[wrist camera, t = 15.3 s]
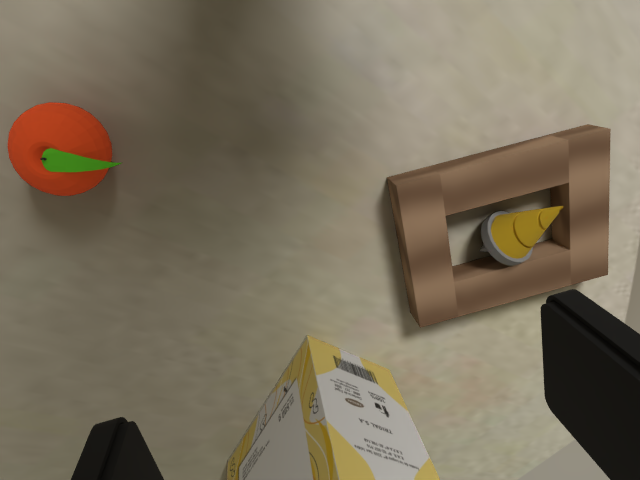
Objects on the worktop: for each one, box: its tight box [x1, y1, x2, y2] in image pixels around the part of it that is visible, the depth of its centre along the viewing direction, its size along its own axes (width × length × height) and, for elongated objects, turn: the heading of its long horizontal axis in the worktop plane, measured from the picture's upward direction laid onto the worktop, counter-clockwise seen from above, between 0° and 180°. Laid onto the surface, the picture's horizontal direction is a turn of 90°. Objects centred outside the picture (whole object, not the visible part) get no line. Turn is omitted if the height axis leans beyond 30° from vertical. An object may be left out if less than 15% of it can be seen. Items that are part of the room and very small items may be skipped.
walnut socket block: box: [387, 125, 610, 328], centre depth 46 cm, size 15×20×3 cm
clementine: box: [8, 102, 121, 196], centre depth 36 cm, size 8×7×7 cm
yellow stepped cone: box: [480, 206, 563, 266], centre depth 44 cm, size 5×5×10 cm
